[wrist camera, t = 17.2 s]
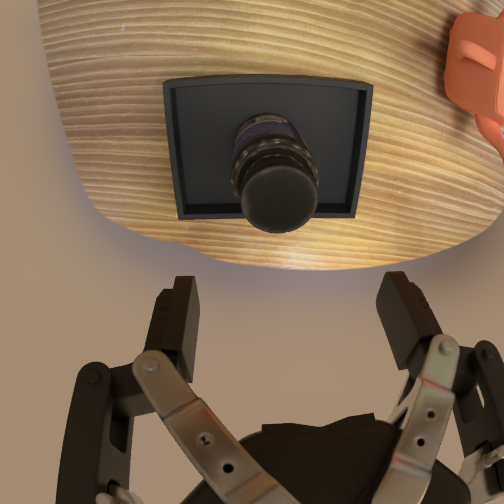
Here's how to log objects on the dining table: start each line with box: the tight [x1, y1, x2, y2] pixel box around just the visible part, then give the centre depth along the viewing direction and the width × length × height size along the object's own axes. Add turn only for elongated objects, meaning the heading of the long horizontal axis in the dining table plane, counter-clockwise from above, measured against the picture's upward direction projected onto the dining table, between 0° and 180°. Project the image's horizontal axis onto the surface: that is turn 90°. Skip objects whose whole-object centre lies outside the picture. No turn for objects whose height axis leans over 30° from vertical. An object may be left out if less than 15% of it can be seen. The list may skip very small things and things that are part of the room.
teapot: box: [443, 9, 504, 163], centre depth 17 cm, size 14×12×10 cm
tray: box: [163, 74, 373, 220], centre depth 26 cm, size 17×13×3 cm
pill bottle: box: [230, 114, 319, 233], centre depth 23 cm, size 6×6×11 cm
